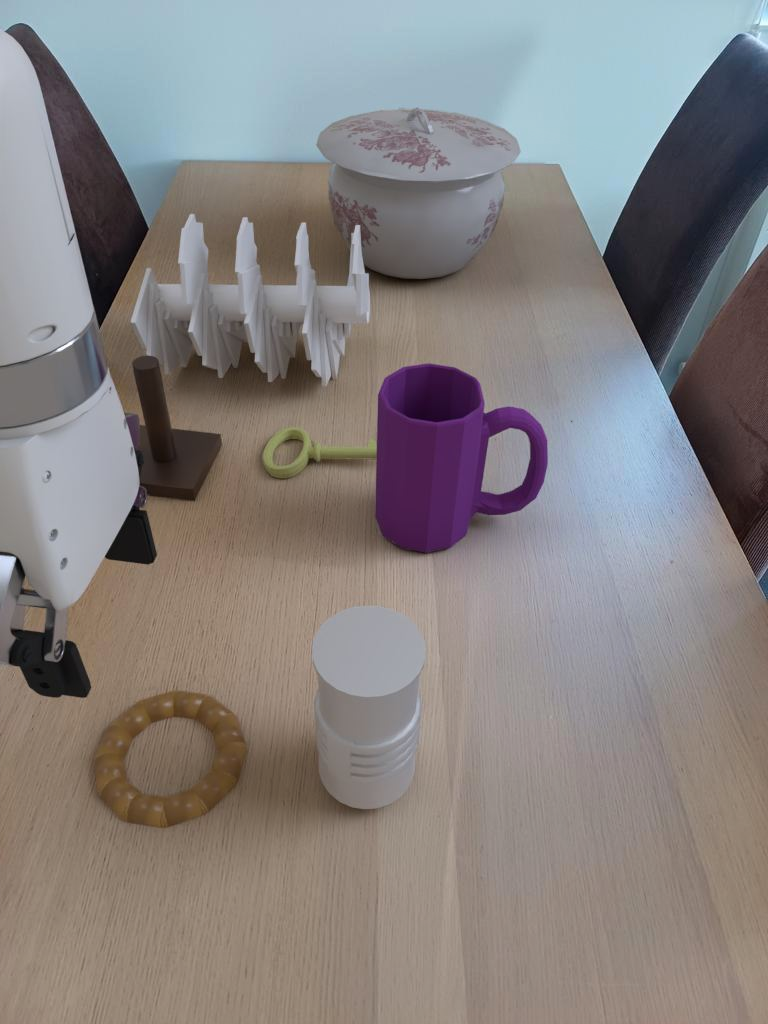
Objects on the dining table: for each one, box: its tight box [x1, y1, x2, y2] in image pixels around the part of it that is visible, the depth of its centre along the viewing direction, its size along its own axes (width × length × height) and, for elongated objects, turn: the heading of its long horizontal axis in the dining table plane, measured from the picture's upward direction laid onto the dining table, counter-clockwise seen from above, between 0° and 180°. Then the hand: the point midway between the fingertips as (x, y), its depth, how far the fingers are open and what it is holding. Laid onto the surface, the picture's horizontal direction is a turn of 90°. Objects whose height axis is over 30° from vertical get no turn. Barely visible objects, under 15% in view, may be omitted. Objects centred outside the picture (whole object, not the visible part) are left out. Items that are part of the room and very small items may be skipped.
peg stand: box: [131, 355, 223, 501], centre depth 78 cm, size 9×9×12 cm
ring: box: [92, 689, 247, 829], centre depth 57 cm, size 10×10×2 cm
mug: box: [374, 362, 549, 554], centre depth 72 cm, size 9×16×15 cm, turn 92°
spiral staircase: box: [130, 213, 371, 387], centre depth 91 cm, size 18×18×25 cm
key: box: [262, 426, 377, 479], centre depth 84 cm, size 7×12×2 cm, turn 102°
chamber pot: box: [316, 107, 522, 280], centre depth 112 cm, size 28×28×21 cm
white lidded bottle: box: [311, 604, 427, 810], centre depth 52 cm, size 7×7×15 cm
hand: (99, 619), depth 46 cm, fingers open, 9 cm apart
